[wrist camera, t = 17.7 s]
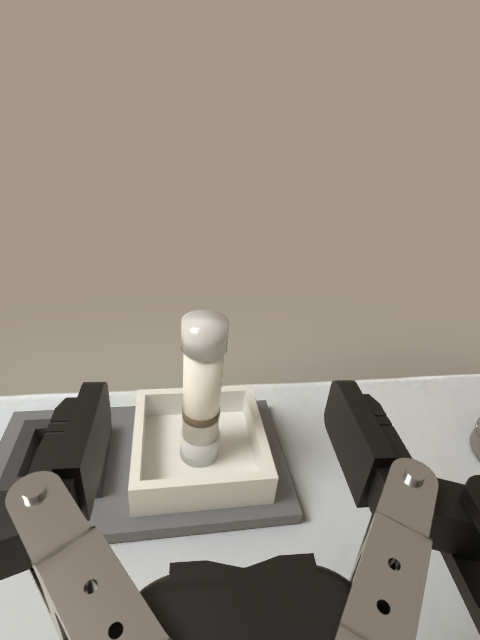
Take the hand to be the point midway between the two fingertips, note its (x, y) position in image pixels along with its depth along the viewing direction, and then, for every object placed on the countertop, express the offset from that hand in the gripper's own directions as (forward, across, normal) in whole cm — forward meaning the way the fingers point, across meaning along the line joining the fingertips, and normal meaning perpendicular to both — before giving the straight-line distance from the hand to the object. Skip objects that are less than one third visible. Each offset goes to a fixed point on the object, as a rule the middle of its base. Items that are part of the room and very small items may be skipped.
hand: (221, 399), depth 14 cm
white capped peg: (+15, 0, +20) cm, 25 cm away
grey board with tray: (+15, +5, +21) cm, 26 cm away
